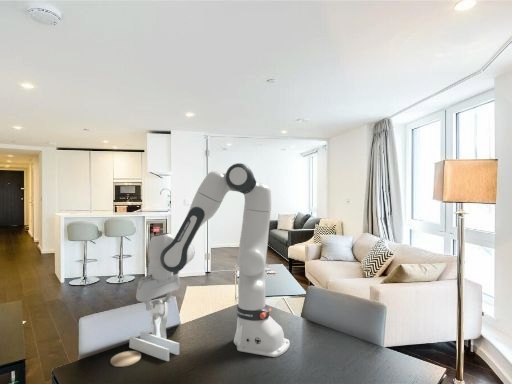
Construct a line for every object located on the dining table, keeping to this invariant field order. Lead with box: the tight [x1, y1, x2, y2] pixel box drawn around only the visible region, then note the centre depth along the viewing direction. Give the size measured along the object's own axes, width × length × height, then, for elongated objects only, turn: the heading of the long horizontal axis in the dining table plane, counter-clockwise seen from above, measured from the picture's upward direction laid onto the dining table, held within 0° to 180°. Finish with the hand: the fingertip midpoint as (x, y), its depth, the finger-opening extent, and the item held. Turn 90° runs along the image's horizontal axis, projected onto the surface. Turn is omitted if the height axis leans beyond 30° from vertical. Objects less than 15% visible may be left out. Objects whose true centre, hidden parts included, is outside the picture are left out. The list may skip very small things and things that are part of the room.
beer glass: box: [149, 298, 169, 339], centre depth 123 cm, size 7×7×15 cm
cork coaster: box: [110, 350, 142, 368], centre depth 107 cm, size 10×10×1 cm
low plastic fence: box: [128, 330, 180, 362], centre depth 113 cm, size 20×6×4 cm, turn 61°
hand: (158, 306), depth 123 cm, fingers open, 8 cm apart
